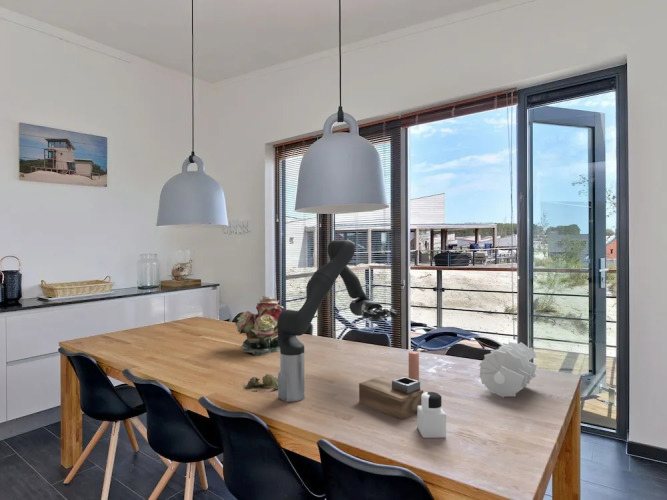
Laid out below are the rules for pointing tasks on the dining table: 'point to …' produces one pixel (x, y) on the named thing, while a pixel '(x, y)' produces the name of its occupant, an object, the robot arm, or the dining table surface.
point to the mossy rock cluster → (267, 382)
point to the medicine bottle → (431, 416)
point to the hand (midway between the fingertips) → (385, 316)
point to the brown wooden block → (392, 396)
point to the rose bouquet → (261, 327)
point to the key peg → (414, 365)
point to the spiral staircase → (508, 369)
